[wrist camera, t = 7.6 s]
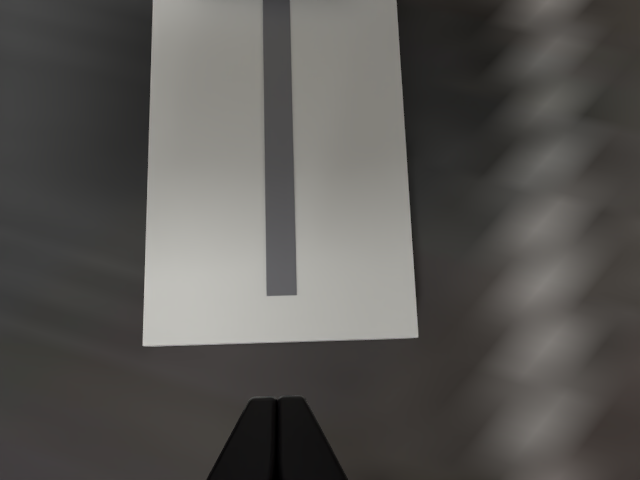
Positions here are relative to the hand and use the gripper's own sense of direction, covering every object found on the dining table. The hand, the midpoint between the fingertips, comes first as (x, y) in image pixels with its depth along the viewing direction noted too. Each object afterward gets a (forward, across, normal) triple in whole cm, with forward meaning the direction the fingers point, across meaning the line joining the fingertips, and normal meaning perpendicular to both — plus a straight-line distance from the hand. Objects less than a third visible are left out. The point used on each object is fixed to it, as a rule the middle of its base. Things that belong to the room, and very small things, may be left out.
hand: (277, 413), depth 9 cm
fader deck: (+14, 0, +1) cm, 14 cm away
